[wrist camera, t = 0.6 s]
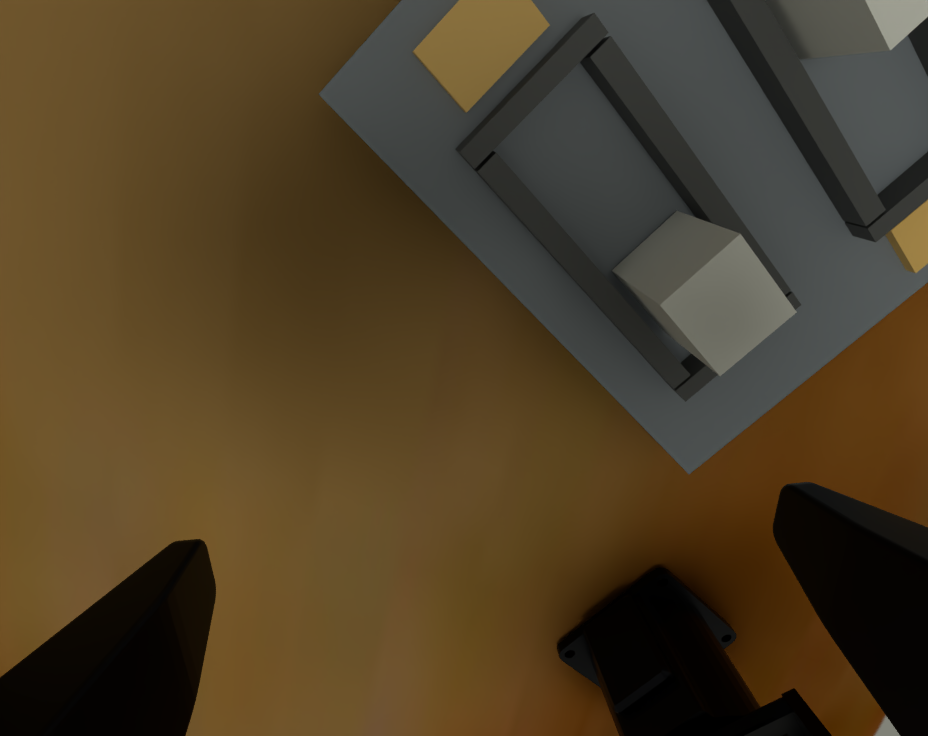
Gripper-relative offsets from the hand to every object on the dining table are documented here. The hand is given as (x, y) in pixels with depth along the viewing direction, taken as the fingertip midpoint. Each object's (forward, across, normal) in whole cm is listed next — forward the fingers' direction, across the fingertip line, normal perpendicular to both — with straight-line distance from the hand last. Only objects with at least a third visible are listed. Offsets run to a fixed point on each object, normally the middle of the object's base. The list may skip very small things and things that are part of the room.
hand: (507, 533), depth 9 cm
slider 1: (+10, -7, -1) cm, 13 cm away
